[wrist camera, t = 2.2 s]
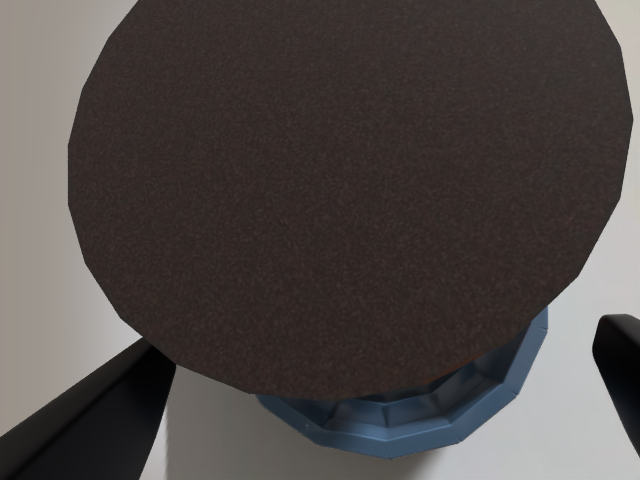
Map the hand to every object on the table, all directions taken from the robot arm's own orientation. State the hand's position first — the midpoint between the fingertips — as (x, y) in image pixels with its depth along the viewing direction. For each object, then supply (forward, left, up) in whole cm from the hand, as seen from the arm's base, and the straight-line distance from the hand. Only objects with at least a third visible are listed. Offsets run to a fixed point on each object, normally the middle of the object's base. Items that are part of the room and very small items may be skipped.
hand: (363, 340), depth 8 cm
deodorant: (+2, 0, -10) cm, 11 cm away
